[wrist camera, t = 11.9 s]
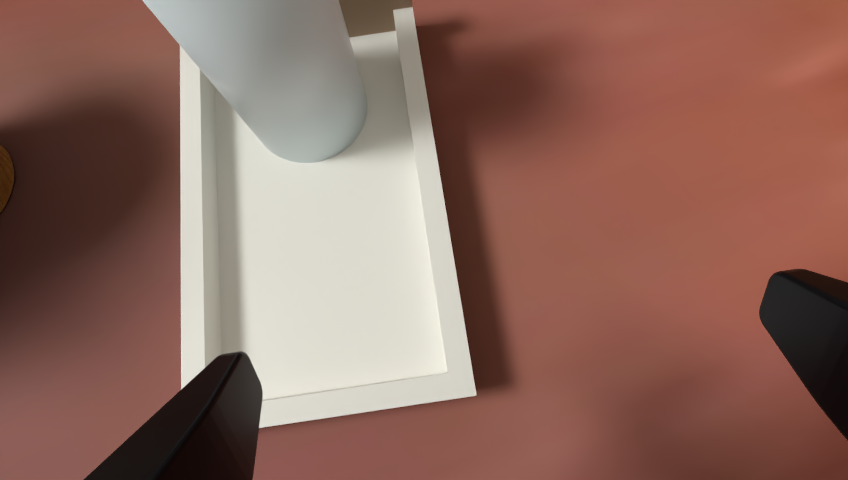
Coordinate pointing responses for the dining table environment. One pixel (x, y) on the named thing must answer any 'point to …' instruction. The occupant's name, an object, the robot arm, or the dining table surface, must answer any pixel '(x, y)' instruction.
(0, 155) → the disposable coffee cup
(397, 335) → the drawer
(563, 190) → the dining table surface
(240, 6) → the white rounded wedge
